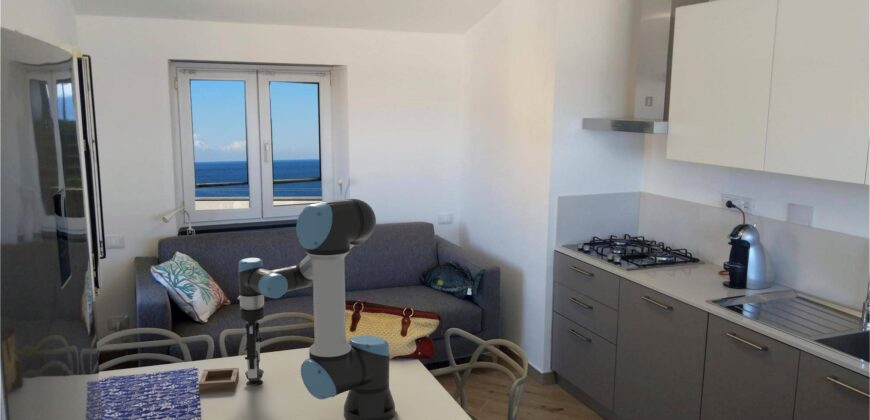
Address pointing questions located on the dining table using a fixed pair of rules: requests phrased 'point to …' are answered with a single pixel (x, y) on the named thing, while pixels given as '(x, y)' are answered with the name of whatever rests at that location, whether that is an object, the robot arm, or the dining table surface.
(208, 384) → the walnut holder
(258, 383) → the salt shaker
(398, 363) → the dining table surface
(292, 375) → the dining table surface
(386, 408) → the robot arm
